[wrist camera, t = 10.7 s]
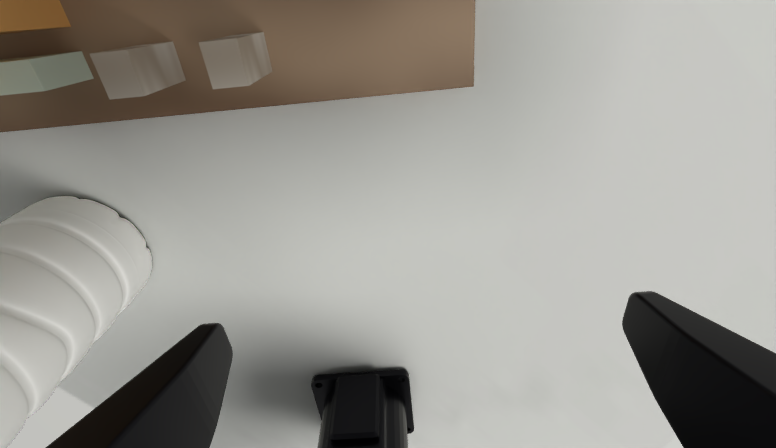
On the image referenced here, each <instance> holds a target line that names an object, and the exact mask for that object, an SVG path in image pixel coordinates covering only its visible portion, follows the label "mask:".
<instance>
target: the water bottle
mask: <svg viewBox="0 0 776 448" xmlns="http://www.w3.org/2000/svg"><path fill="white" fill-rule="evenodd" d="M151 271H152V256H151V252H150V250H149V249H148V248H147V247H146V242H145V239H144V238H143V236H142V235H141V233H140V232H139V231H138V230H137V229H136V227H135V226H134V225H133V224H132V223H130V222H129V221H128V220H126V219H124V218H120V217H119V215H118V213H117V212H116V211H114V210H113V209H111V208H109V207H107V206H105V205H103V204H100V203H98V202H95V201H92V200H88V199H78V198H76V197H72V196H57V197H51V198H47V199H43V200H41V201H38V202H36V203H34V204H32V205H30V206H28V207H26V208H25V209H23V210H22V211H20V212H18V213H16V214H14V215H12V216H11V217H9V218H8V219H6V220H4V221H3V222H1V223H0V448H7V447H8V446H9V445H10V443H11V442H12V441H13V440H14V439H15V437H16V436H17V435H18V433H19V432H20V431H21V429H22V428H23V426H24V423H25V421H26V419H27V418H29V417H30V416H31V415H33V414H34V413H35V412H36V411H37V410H39V409H40V408H41V407H42V406H43V405H44V403H45V402H46V401H47V400H48V399H49V398H50V396H51V395H52V394H53V392H54V391H55V389H56V387H57V386H58V384H59V383H60V382H61V381H62V380H63V379H64V378H65V377H66V376H67V375H68V374H69V373H70V372H71V371H72V370H73V369H74V368H75V367H76V366H77V365H78V364H79V363H80V361H81V360H82V359H83V358H84V356H85V355H86V354H87V352H88V351H89V349H90V347H91V345H92V344H93V343H94V342H95V341H96V340H98V339H99V338H100V337H101V336H102V335H103V334H104V333H105V332H106V331H107V330H108V329H109V327H110V326H111V325H112V324H113V322H114V321H115V320H116V318H117V316H118V314H119V313H120V312H122V311H123V310H124V309H125V308H126V307H127V306H128V305H129V304H130V303H131V302H132V301H133V299H134V297H135V296H136V295H137V294H138V293H139V292H140V290H141V289H142V288H143V287H144V286H145V284H146V283H147V281H148V279H149V276H150V274H151Z"/></svg>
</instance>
